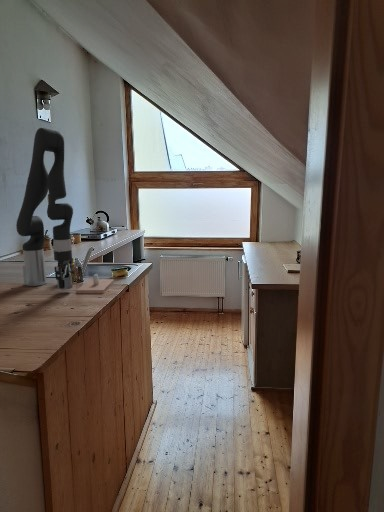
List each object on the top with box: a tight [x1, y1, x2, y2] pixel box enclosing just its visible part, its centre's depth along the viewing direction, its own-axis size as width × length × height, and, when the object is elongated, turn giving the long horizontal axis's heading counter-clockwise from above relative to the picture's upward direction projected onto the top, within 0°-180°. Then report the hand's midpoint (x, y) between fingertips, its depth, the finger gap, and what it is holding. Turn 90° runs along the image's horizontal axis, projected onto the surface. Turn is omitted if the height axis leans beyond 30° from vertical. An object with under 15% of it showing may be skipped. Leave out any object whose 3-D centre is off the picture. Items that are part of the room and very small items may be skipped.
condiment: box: [62, 257, 76, 284], centre depth 179 cm, size 7×8×12 cm
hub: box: [56, 275, 73, 290], centre depth 161 cm, size 6×6×5 cm
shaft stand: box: [76, 273, 115, 294], centre depth 169 cm, size 12×19×6 cm, turn 178°
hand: (65, 285), depth 161 cm, fingers closed on hub, 6 cm apart
